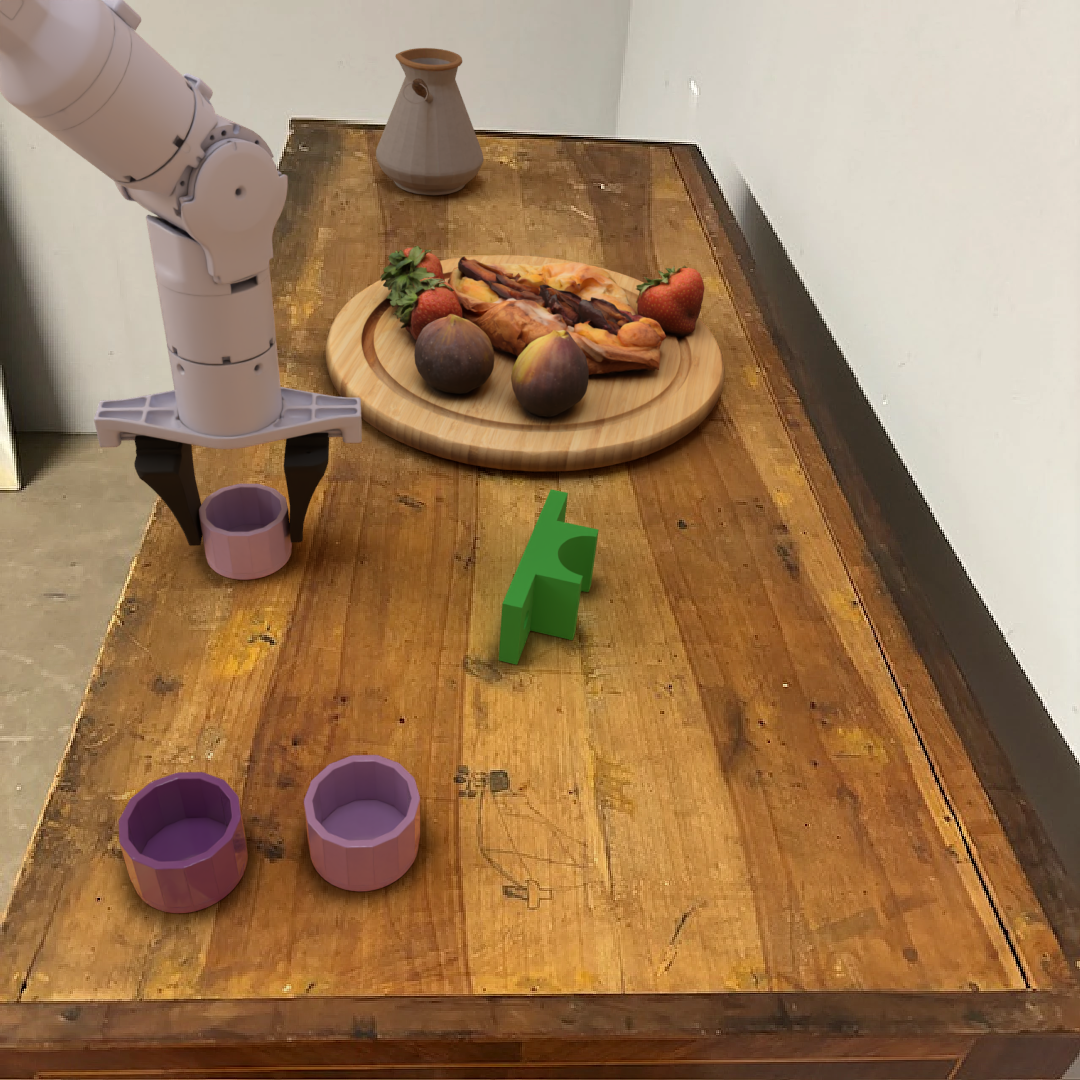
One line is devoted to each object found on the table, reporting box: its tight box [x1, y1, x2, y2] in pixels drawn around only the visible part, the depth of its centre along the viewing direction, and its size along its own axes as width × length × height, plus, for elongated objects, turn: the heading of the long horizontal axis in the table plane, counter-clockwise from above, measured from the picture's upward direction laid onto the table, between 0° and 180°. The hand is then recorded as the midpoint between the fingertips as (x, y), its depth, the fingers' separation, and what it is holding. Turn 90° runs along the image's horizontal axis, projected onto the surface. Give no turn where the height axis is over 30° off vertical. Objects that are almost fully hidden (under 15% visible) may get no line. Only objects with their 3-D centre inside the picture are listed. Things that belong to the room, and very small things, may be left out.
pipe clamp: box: [498, 488, 600, 666], centre depth 65 cm, size 11×4×5 cm, turn 166°
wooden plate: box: [325, 245, 726, 472], centre depth 86 cm, size 32×32×8 cm
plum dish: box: [118, 771, 249, 914], centre depth 49 cm, size 5×5×4 cm
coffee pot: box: [375, 47, 485, 196], centre depth 108 cm, size 21×12×15 cm, turn 179°
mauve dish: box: [303, 754, 421, 892], centre depth 51 cm, size 5×5×4 cm
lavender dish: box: [199, 483, 293, 581], centre depth 67 cm, size 5×5×4 cm
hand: (247, 533), depth 67 cm, fingers open, 5 cm apart
